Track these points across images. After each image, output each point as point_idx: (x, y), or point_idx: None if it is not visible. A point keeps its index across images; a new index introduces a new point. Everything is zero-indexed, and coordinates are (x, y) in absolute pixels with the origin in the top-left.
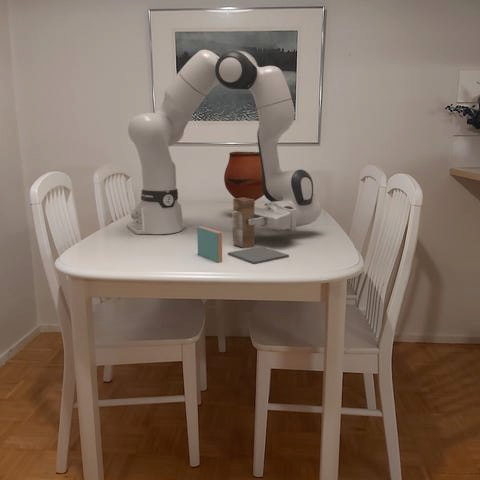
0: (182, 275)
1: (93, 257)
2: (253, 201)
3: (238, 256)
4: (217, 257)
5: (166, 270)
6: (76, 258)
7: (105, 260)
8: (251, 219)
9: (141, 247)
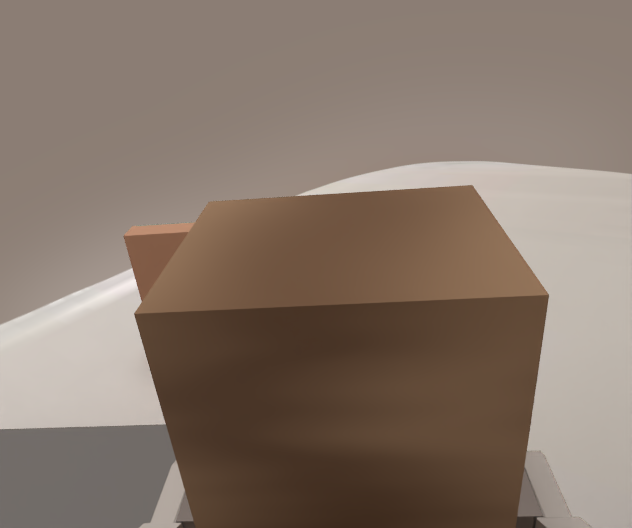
0: None
1: (489, 187)
2: (151, 334)
3: (118, 426)
4: None
5: None
6: (497, 173)
7: None
8: (168, 480)
9: (584, 255)
